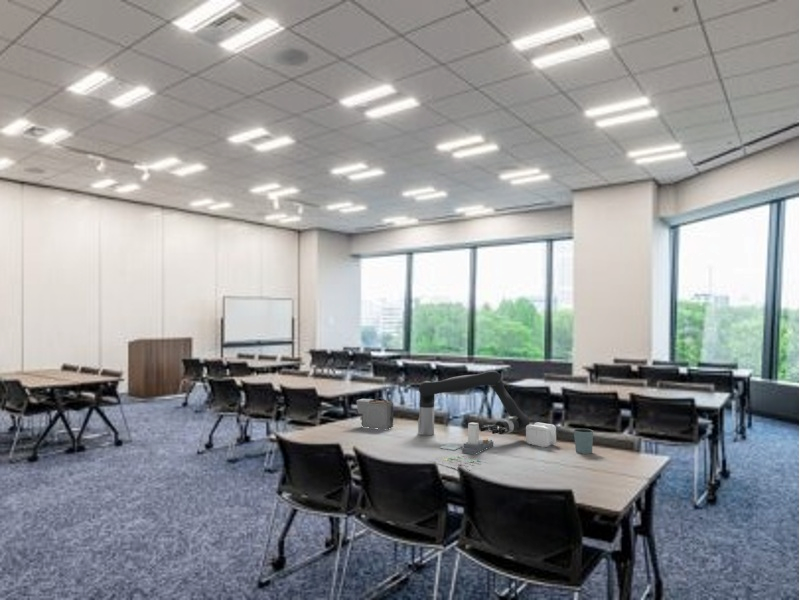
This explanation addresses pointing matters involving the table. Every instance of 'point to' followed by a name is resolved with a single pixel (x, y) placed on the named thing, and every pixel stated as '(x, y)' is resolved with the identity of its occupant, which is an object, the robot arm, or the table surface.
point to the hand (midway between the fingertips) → (486, 430)
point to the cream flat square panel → (464, 458)
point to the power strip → (477, 446)
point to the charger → (473, 433)
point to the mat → (450, 447)
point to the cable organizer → (541, 434)
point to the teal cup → (583, 440)
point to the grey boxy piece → (376, 413)
